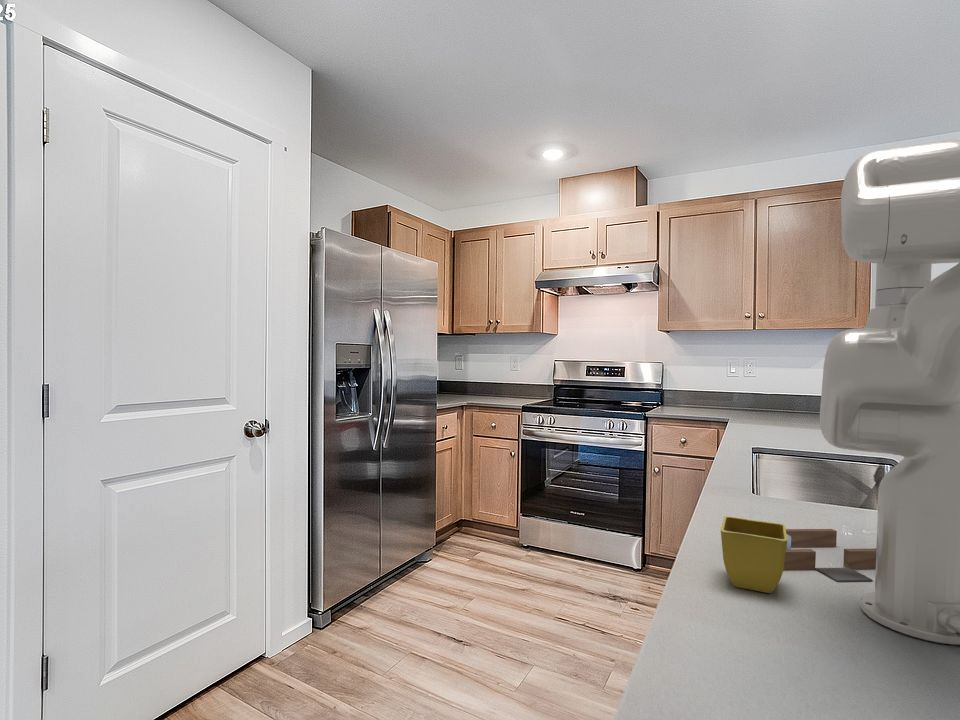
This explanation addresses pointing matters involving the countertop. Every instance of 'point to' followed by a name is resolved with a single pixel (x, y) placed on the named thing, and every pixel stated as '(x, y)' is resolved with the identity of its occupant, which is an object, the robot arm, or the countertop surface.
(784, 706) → the countertop surface
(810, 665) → the countertop surface
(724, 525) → the flower pot
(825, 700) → the countertop surface
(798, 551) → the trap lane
